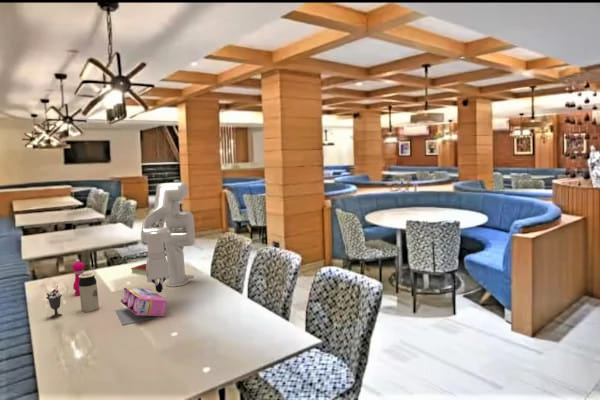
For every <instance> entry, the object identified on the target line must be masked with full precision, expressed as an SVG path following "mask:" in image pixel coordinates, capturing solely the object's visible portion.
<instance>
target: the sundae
mask: <svg viewBox="0 0 600 400" xmlns="http://www.w3.org/2000/svg"><path fill="white" fill-rule="evenodd" d="M61 297H63V294H61V293H60V292H59V290H58V289H57V287H54V289H53V290H51V291H50V292H49V293H46V300H48V303H49V306H50V309H52V310H54V314H53V315H51V316H50V318H51V319H58V318H61V317H62V316H63V314H62V313H59V312H58V309H59V308H60V307H61V300H62V299H61Z"/></svg>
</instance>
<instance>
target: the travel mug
mask: <svg viewBox="0 0 600 400" xmlns="http://www.w3.org/2000/svg"><path fill="white" fill-rule="evenodd" d="M95 276H96V273H94V272H86V273H85V272H84V273H83V274H81V275H79V278H80V281H79V290H80V296H79V299H80V307H81V312H83V313H91V312H95V311H96V310H98V309H99V308H100V305H99V294H98V284H97V279H96V278H95Z"/></svg>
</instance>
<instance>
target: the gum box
mask: <svg viewBox="0 0 600 400" xmlns="http://www.w3.org/2000/svg"><path fill="white" fill-rule="evenodd" d="M120 303H121V304H122V305H123V306H125V308H129V309H130V310H131V311H132V312H133V313H135V314H136V315H145V316H158V317H164V316H165V314H166V313H165V312H166V310H167V309H166V308H167V304H168V300H167V299H165V297H163V296H161V295H160V294H159V293H158V292H156V291H154V290H153V289H150V288H141V287H139V288H138V287H124V288H123V294H122V298H121V299H120Z"/></svg>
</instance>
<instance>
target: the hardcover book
mask: <svg viewBox="0 0 600 400" xmlns="http://www.w3.org/2000/svg"><path fill="white" fill-rule="evenodd" d="M130 269H131V273H132V274H134V275H142V276H147V275H146V263H142V264H140V265H137V266H133V267H131V268H130Z"/></svg>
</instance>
